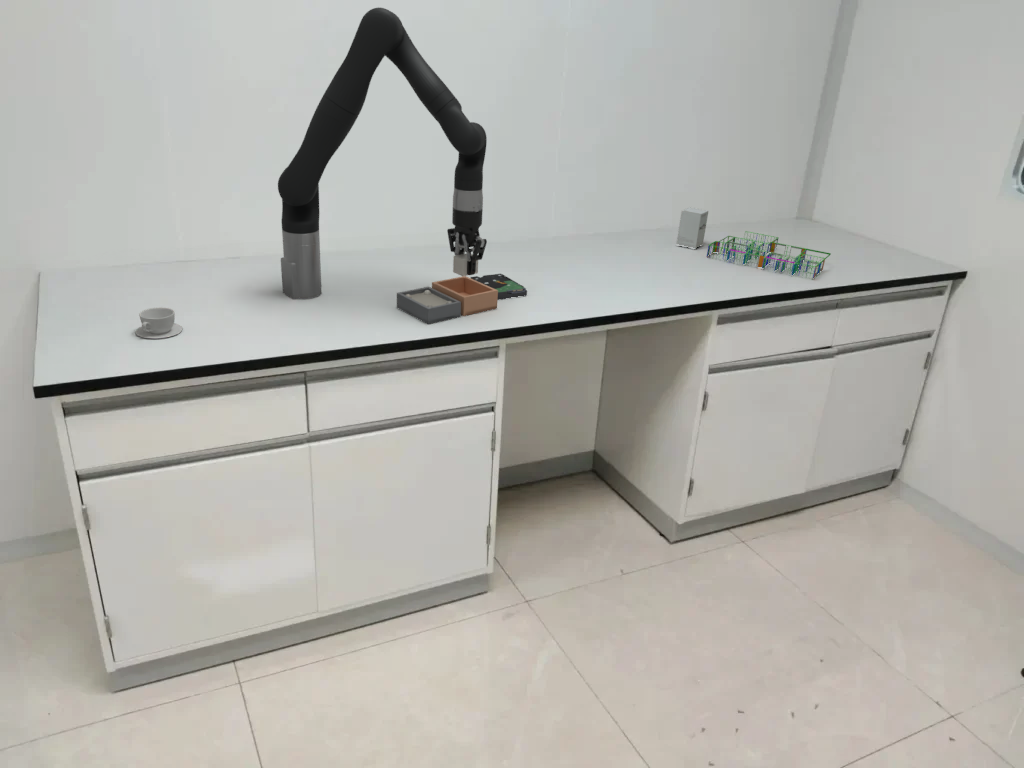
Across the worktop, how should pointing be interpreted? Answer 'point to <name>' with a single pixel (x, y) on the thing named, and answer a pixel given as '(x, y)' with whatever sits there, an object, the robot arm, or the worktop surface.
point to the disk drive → (502, 285)
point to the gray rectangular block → (462, 264)
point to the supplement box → (692, 227)
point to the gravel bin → (428, 305)
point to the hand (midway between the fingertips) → (465, 271)
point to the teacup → (158, 323)
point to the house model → (763, 258)
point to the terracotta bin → (468, 294)
